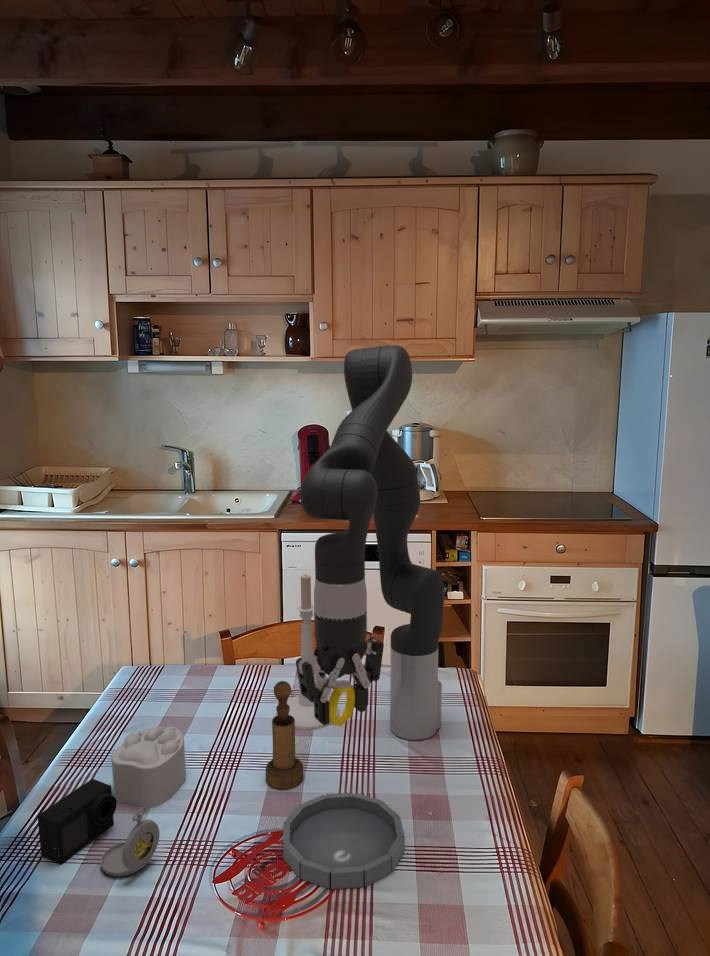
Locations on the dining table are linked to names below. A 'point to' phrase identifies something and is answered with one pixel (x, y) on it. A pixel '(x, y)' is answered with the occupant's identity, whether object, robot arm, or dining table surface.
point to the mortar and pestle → (283, 744)
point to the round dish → (343, 840)
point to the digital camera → (76, 821)
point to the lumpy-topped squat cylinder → (149, 767)
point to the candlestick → (300, 704)
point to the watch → (334, 699)
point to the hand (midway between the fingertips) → (341, 715)
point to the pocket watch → (132, 848)
